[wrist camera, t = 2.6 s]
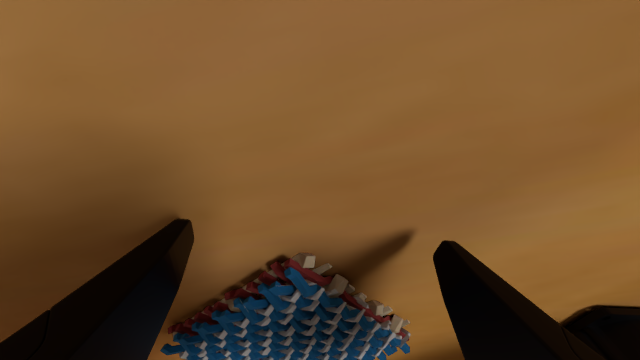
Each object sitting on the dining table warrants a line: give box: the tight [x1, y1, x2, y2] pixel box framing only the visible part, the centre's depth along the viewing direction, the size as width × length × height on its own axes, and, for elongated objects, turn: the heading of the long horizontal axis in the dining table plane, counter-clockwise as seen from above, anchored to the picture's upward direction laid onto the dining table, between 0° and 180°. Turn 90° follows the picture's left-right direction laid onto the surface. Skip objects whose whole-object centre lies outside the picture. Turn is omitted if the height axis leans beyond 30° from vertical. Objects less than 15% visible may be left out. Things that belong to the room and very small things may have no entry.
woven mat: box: [160, 253, 410, 360], centre depth 14 cm, size 10×11×2 cm
